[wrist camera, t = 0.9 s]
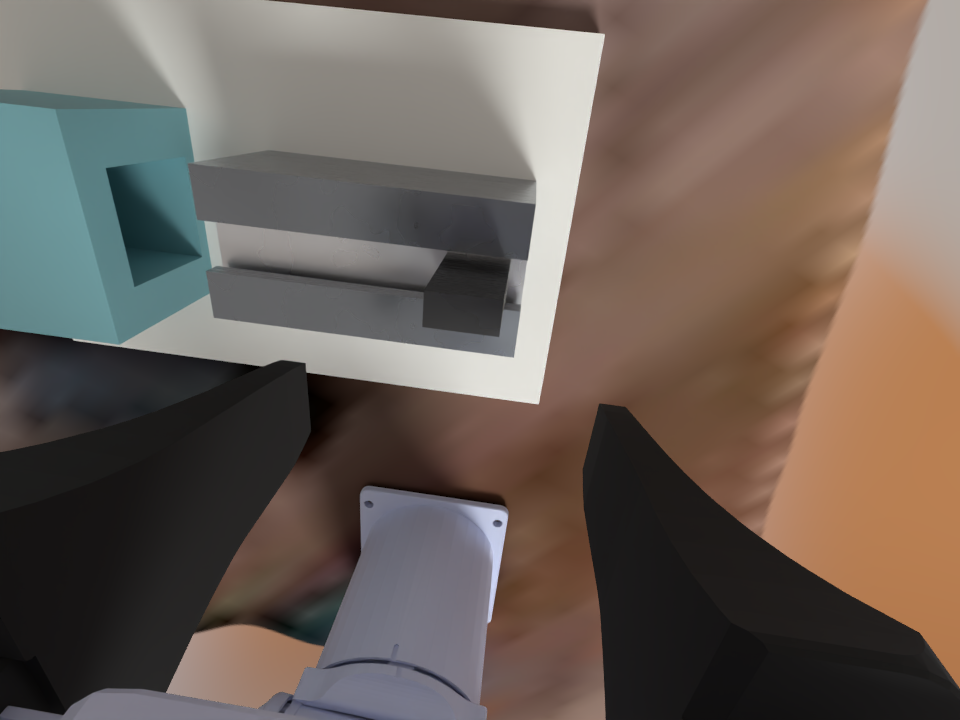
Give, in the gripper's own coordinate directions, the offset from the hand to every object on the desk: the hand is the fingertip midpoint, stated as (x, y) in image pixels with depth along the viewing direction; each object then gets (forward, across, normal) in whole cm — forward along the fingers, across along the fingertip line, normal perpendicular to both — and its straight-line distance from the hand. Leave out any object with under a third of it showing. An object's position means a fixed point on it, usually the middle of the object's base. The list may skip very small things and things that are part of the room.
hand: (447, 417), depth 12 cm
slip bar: (+8, +4, -2) cm, 9 cm away
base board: (+10, +8, -2) cm, 13 cm away
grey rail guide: (+9, +3, -2) cm, 10 cm away
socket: (+10, +14, -2) cm, 18 cm away
